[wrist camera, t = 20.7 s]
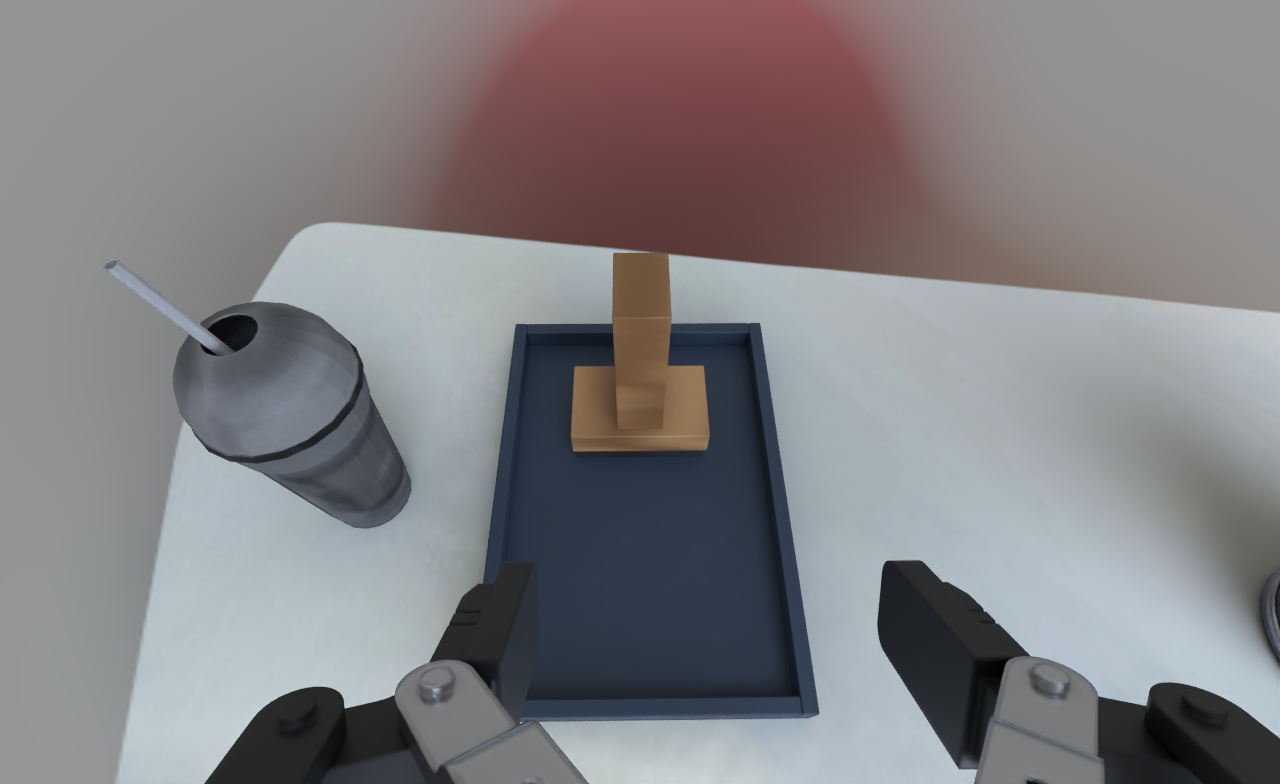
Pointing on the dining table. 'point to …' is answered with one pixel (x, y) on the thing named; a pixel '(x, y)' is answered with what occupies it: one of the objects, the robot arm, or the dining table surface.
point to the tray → (653, 543)
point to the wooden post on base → (640, 376)
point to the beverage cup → (285, 404)
